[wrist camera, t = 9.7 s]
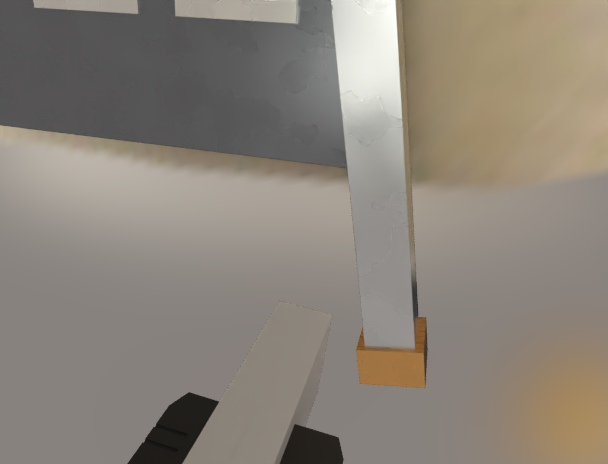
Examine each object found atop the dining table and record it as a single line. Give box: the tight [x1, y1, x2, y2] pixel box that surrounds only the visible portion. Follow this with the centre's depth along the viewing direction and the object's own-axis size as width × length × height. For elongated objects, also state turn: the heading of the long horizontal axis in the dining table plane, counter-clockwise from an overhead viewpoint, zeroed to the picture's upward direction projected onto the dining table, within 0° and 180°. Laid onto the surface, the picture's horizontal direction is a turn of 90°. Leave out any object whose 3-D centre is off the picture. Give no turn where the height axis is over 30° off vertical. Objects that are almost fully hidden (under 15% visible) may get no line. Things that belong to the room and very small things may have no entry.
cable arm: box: [331, 0, 428, 388], centre depth 22 cm, size 22×4×4 cm, turn 8°
